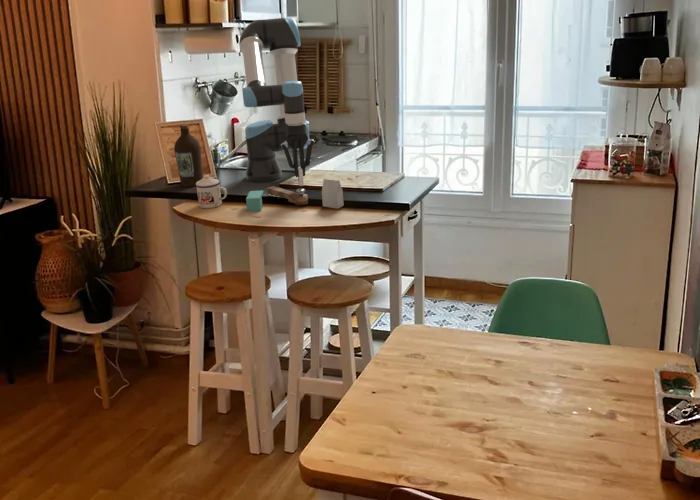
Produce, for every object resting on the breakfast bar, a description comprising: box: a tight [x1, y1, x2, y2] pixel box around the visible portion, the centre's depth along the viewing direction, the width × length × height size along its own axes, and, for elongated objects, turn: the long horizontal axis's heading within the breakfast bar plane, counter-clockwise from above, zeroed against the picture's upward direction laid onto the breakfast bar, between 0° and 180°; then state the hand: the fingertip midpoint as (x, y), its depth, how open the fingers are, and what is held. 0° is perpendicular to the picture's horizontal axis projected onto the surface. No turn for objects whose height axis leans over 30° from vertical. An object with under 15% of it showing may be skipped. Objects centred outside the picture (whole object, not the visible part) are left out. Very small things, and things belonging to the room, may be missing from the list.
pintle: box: [295, 187, 306, 196], centre depth 278 cm, size 3×3×2 cm
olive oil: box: [173, 123, 204, 188], centre depth 311 cm, size 11×11×25 cm
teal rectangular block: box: [245, 189, 264, 213], centre depth 279 cm, size 10×5×5 cm, turn 178°
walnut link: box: [266, 185, 309, 206], centre depth 285 cm, size 21×5×3 cm, turn 43°
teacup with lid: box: [195, 174, 228, 209], centre depth 283 cm, size 12×9×12 cm
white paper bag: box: [321, 178, 345, 210], centre depth 274 cm, size 4×7×10 cm, turn 56°
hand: (301, 184), depth 288 cm, fingers closed
